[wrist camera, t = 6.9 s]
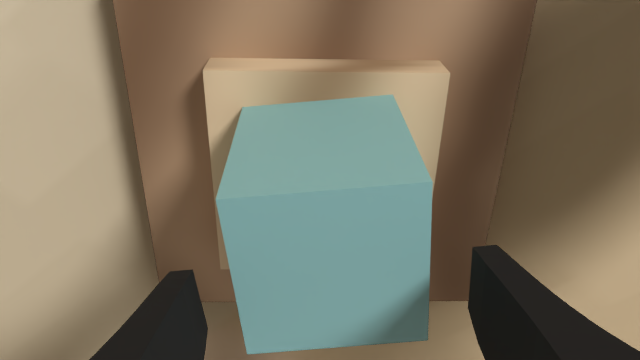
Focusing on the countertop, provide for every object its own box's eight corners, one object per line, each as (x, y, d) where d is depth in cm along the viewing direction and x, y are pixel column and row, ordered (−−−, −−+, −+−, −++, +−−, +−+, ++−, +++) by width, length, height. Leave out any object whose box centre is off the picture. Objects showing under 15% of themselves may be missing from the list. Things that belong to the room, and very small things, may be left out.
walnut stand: (526, -36, 18) (563, -24, 15) (464, 279, 25) (483, 324, 22) (121, -43, 18) (89, -33, 15) (169, 280, 24) (153, 326, 22)
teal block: (392, 94, 17) (432, 181, 12) (394, 220, 20) (427, 340, 14) (242, 107, 17) (215, 199, 12) (262, 231, 20) (246, 354, 14)
